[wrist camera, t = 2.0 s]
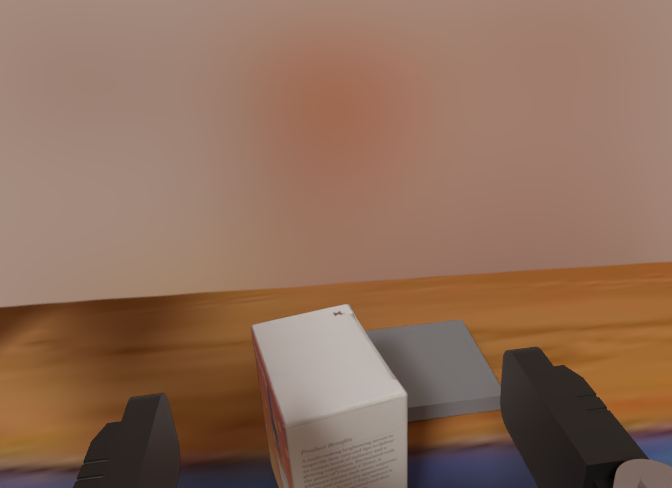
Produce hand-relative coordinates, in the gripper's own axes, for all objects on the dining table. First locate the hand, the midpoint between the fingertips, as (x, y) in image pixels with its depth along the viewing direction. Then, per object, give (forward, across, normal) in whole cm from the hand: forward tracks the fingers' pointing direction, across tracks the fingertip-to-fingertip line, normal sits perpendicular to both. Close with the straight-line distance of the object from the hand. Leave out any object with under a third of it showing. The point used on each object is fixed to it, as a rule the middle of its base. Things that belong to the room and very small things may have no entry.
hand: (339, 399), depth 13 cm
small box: (+11, 0, +18) cm, 21 cm away
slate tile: (+22, -5, +17) cm, 28 cm away
